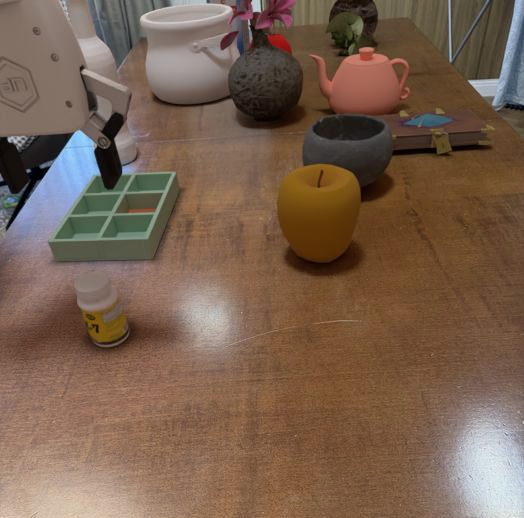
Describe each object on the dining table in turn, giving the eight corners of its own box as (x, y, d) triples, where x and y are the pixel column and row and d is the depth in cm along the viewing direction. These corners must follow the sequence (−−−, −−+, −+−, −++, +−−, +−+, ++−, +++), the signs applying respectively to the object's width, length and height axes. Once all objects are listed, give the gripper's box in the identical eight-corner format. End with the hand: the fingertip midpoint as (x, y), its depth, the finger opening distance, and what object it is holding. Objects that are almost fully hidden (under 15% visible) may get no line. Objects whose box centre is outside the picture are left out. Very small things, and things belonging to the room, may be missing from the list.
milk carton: (213, 61, 152) (203, -20, 138) (220, 56, 156) (211, -24, 142) (244, 62, 149) (237, -21, 135) (251, 56, 153) (245, -25, 140)
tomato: (282, 82, 132) (280, 37, 125) (241, 78, 138) (238, 34, 131) (302, 70, 139) (301, 27, 132) (263, 66, 144) (260, 24, 137)
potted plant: (328, 45, 163) (320, 66, 137) (332, -13, 154) (324, -3, 127) (377, 46, 162) (378, 68, 135) (384, -12, 152) (387, -1, 125)
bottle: (126, 147, 107) (82, -27, 86) (145, 158, 102) (103, -24, 82) (91, 159, 104) (37, -19, 83) (110, 171, 99) (57, -16, 78)
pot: (131, 95, 133) (113, 17, 121) (202, 72, 144) (192, -2, 132) (191, 116, 119) (177, 30, 107) (265, 88, 130) (260, 7, 118)
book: (347, 134, 107) (348, 108, 103) (466, 125, 106) (470, 99, 102) (359, 162, 94) (361, 134, 91) (493, 153, 93) (500, 124, 90)
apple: (275, 275, 70) (270, 188, 61) (285, 234, 77) (281, 151, 69) (355, 278, 68) (362, 189, 59) (357, 236, 76) (363, 151, 67)
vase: (306, 128, 108) (304, -49, 88) (225, 134, 109) (205, -40, 88) (301, 102, 120) (299, -59, 100) (228, 107, 121) (211, -51, 100)
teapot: (310, 126, 109) (310, 62, 100) (308, 102, 120) (308, 42, 111) (413, 121, 107) (422, 55, 98) (402, 97, 118) (409, 36, 110)
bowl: (284, 186, 89) (282, 128, 82) (343, 159, 96) (345, 103, 89) (346, 214, 81) (349, 152, 74) (406, 183, 87) (414, 123, 80)
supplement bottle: (85, 336, 63) (62, 282, 57) (117, 318, 65) (98, 263, 59) (105, 354, 60) (83, 299, 55) (137, 334, 63) (120, 279, 57)
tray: (55, 261, 76) (47, 241, 74) (99, 192, 92) (93, 174, 90) (153, 259, 75) (147, 238, 72) (179, 190, 91) (176, 171, 88)
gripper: (-143, -7, 37) (-32, 207, 49) (83, -27, 35) (141, 200, 47) (-86, -23, 42) (2, 173, 54) (112, -41, 41) (158, 165, 52)
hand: (67, 185), depth 50 cm, fingers open, 9 cm apart
